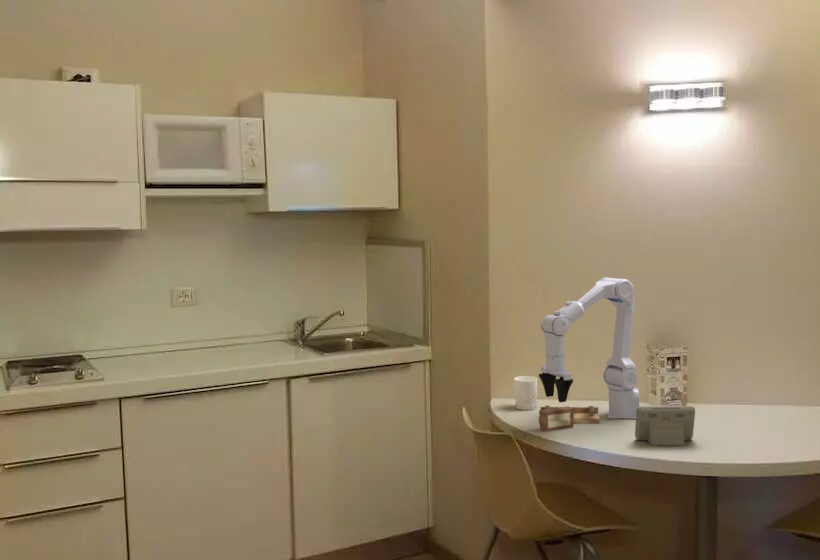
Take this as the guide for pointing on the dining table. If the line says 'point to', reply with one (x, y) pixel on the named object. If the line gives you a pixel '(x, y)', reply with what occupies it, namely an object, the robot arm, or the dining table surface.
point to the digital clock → (665, 424)
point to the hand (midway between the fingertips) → (556, 399)
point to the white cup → (525, 392)
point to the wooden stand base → (582, 414)
